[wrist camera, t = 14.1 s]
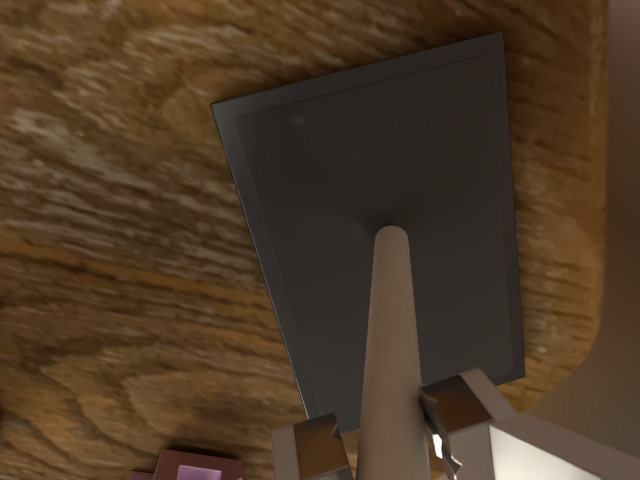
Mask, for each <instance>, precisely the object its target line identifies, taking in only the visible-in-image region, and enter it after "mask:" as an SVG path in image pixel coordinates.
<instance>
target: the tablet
mask: <svg viewBox="0 0 640 480" xmlns="http://www.w3.org/2000/svg"><path fill="white" fill-rule="evenodd" d="M210 107H211V110H212V113H213V116H214V119H215V123H216V126H217V129H218V132H219V135H220V139H221V142H222V145H223V148H224V152H225V155H226V158H227V161H228V164H229V168H230V171H231V174H232V177H233V180H234V184H235V187H236V190H237V193H238V197H239V200H240V203H241V206H242V209H243V213H244V216H245V219H246V222H247V225H248V229H249V232H250V235H251V238H252V241H253V245H254V248H255V251H256V254H257V258H258V261H259V264H260V267H261V270H262V274H263V277H264V280H265V283H266V286H267V290H268V293H269V296H270V299H271V303H272V306H273V309H274V312H275V315H276V319H277V322H278V325H279V328H280V331H281V335H282V338H283V341H284V344H285V348H286V351H287V354H288V357H289V360H290V364H291V367H292V370H293V373H294V376H295V380H296V383H297V386H298V389H299V393H300V396H301V399H302V402H303V405H304V409H305V412H306V415H307V418H308V420H309V419H313V418H316V417H320V416H323V415H327V414H330V413H334V412H335V416H336V419H337V423H338V426H339V430H340V433H341V434H344V433H347V432H350V431H353V430H356V429H360V420H361V408H362V396H363V384H364V371H365V359H366V347H367V334H368V322H369V310H370V298H371V285H372V273H373V261H374V248H375V238H376V235H377V233H378V232H379V231H380V230H381V229H382V228H384V227H386V226H397V227H400V228H402V229H403V230H404V231H405V232H406V234H407V236H408V242H409V252H410V263H411V274H412V284H413V295H414V306H415V316H416V327H417V338H418V349H419V359H420V370H421V381H422V385H424V384H427V383H430V382H433V381H436V380H439V379H443V378H446V377H449V376H452V375H455V374H456V375H457V373H460V372H464V371H467V370H470V369H473V368H476V367H477V368H479V369H481V370H482V371H483V372H484V374H485V375H486V376H487V377H488V378H489V380H490V381H491V382H492V383H493V384H494V385H495V386H498V385H501V384H504V383H507V382H510V381H514V380H517V379H520V378H523V377H525V362H524V347H523V331H522V315H521V300H520V284H519V268H518V253H517V237H516V221H515V206H514V190H513V174H512V159H511V143H510V127H509V112H508V96H507V80H506V65H505V49H504V34H503V31H498V32H494V33H490V34H486V35H482V36H478V37H474V38H470V39H466V40H462V41H458V42H454V43H450V44H446V45H442V46H437V47H433V48H429V49H425V50H421V51H417V52H413V53H409V54H405V55H401V56H397V57H393V58H389V59H385V60H381V61H377V62H373V63H369V64H365V65H361V66H357V67H353V68H349V69H345V70H341V71H337V72H333V73H329V74H325V75H321V76H317V77H313V78H309V79H305V80H301V81H297V82H293V83H289V84H285V85H281V86H277V87H273V88H269V89H265V90H261V91H257V92H252V93H248V94H244V95H240V96H236V97H232V98H228V99H224V100H220V101H216V102H213V103H211V104H210Z"/></svg>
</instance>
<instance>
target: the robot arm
mask: <svg viewBox="0 0 640 480" xmlns="http://www.w3.org/2000/svg"><path fill="white" fill-rule="evenodd" d="M418 397H419V400H420V402H421V404H422V406H423V408H424V413H425V424H426V433H427V436H428V439H429V441H430V443H431V446H432V448H433V450H434V452H435V454H436V455H437V456H438V457H440V458H442V459H443V464H444V470H445V473H446V475H447V477H448V478H449V480H640V459H638V458H635V457H633V456H630V455H628V454H625V453H623V452H621V451H618V450H616V449H613V448H611V447H609V446H606V445H604V444H601V443H599V442H596V441H594V440H592V439H589V438H587V437H584V436H582V435H579V434H577V433H575V432H572V431H569V430H567V429H565V428H562V427H560V426H557V425H555V424H553V423H550V422H548V421H545V420H543V419H540V418H538V417H536V416H533V415H531V414H528V413H526V412H523V413H520V414H518V413H517V411H516V410H515V409H514V408H513V407H512V405H511V404H510V403H509V402H508V401H507V400H506V398H505V397H504V396H503V395H502V394H501V393H500V391H499V390H498V389H497V388H496V387H495V385H494V384H493V383H492V382H491V381H490V380H489V378H488V377H487V376H486V375H485V374H484V372H483V371H482V370H481V369H479V368H477V367H476V368H473V369H470V370H467V371H464V372H460V373H457V375H456V374H455V375H452V376H449V377H446V378H443V379H439V380H436V381H433V382H430V383H427V384H424V385H421V386H418ZM272 448H273V463H274V477H275V480H353V476H352V473H351V469H350V465H349V462H348V458H347V454H346V451H345V447H344V444H343V440H342V437H341V433H340V430H339V426H338V423H337V419H336V416H335V412H334V413H330V414H327V415H323V416H320V417H316V418H313V419H309V420H306V421H302V422H299V423H295V424H294V425H290V426H286V427H283V428H279V429H275V430H273V432H272Z"/></svg>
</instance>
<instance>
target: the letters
mask: <svg viewBox="0 0 640 480" xmlns="http://www.w3.org/2000/svg"><path fill="white" fill-rule="evenodd" d="M242 476H243V461H240V460H234V459H227V458H220V457H214V456H207V455H200V454H194V453H187V452H180V451H174V450H167V449H162V450H161V453H160V456H159V459H158V462H157V465H156V469H155V472H154V474H153V473H145V472H138V471H132V472H131V475H130V478H129V480H242Z"/></svg>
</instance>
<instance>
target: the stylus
mask: <svg viewBox="0 0 640 480" xmlns="http://www.w3.org/2000/svg"><path fill="white" fill-rule="evenodd" d="M421 385H422V381H421V370H420V359H419V349H418V338H417V327H416V316H415V306H414V295H413V284H412V274H411V263H410V252H409V242H408V236H407V234H406V232H405V231H404V230H403V229H402V228H400V227H397V226H386V227H384V228H382V229H381V230H380V231H379V232H378V233H377V235H376V238H375V248H374V261H373V273H372V285H371V298H370V310H369V322H368V334H367V347H366V359H365V371H364V384H363V396H362V408H361V420H360V433H359V445H358V457H357V470H356V480H431V477H430V466H429V456H428V445H427V434H426V424H425V413H424V408H423V406H422V404H421V402H420V400H419V397H418V386H421Z"/></svg>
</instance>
